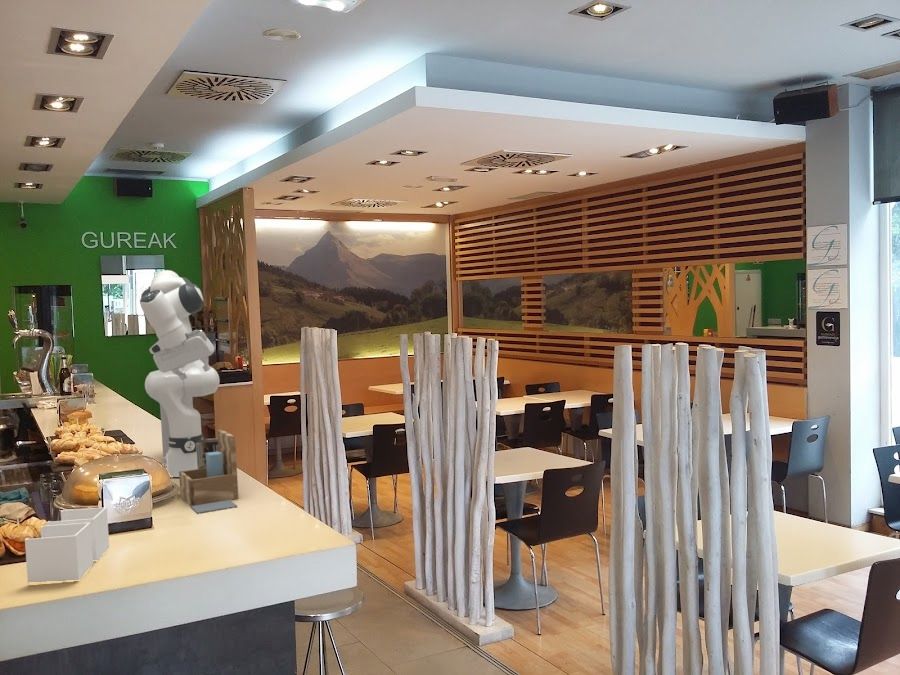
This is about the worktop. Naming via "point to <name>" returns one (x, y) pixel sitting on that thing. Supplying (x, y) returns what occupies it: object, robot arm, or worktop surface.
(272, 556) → the worktop surface
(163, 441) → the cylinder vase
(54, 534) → the white twin bins
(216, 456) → the block
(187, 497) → the caddy
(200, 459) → the grey brown upright frame
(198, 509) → the mat
